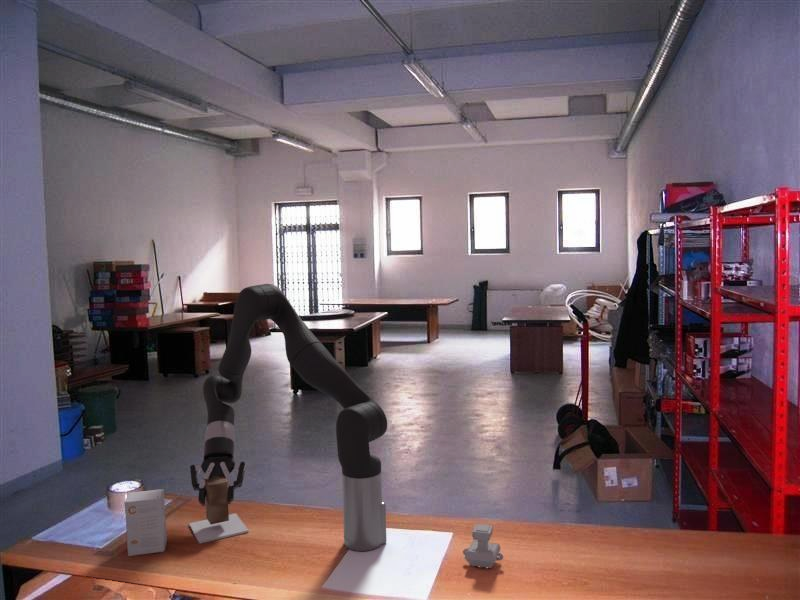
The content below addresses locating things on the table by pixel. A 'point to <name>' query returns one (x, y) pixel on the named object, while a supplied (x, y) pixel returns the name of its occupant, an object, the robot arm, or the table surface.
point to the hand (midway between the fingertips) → (216, 503)
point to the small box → (145, 522)
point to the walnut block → (216, 500)
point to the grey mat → (218, 529)
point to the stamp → (482, 547)
